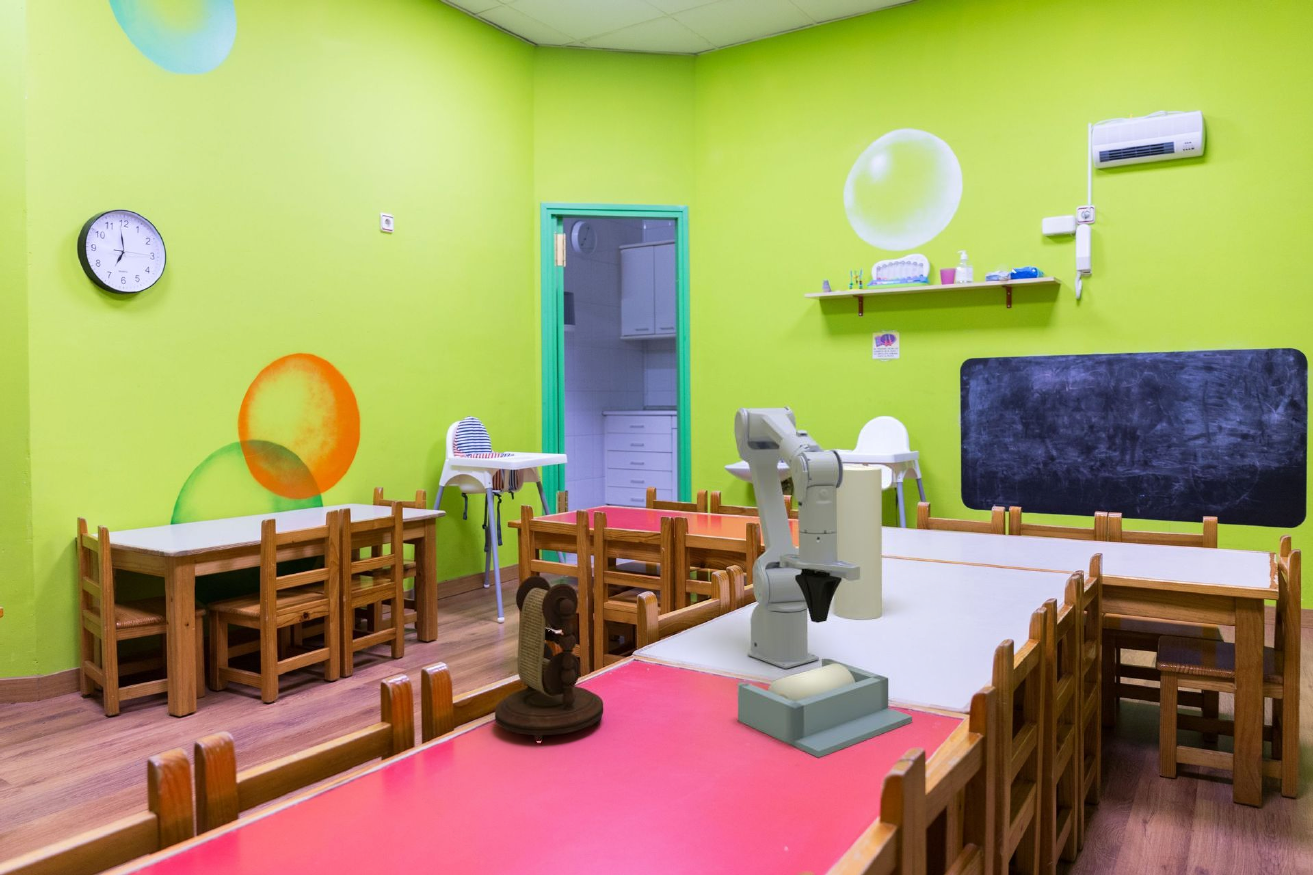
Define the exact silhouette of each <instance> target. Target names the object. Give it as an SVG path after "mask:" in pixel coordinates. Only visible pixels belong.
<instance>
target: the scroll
mask: <svg viewBox="0 0 1313 875" xmlns="http://www.w3.org/2000/svg"><path fill="white" fill-rule="evenodd" d="M515 602H516V606H517V608H518V610H519V612H520V613H521V614H520V619H519V620H520V621H519V627H518V629H519V630H518V640H517V641H518V643H517V645H518V646H517V647H518V648H517V674H518V677H519V680H520V681H521V682H522V683H523V684H525V685H526V687H525V688H523V689H520V690H518V691H515V692H512V693H511V694H509V695H508V696H507V697H505V698H503V699H502V700H500V701H499V702H498V703H497V704H496V705H495V707H494V720H495V722H496V723H497V725H498V726H499V727H501V728H502V729H504V730H506V731H510V732H512V733H516V734H521V735H529V736H533V737H534V741H535V740H536V741H541V740H542V741H543V738H544V736H551V735H552V736H553V735H561V734H565V733H571V732H576V731H579V730H582V729H585V728H588V727H589V726H591V725H593V724H595V725H596V726H599V725H600V724H601V722H602V718H603V714H604V702H603V699H602V698H601V697H600V696H599V695H598V694H596V693H594V692H592V691H590V690H589V689H586V688H584V687H580V686H576V684H577V682H578V681H579V676H580V673H581V664H580V661H579V659H578V656H576V655H575V654H574V653H573V652H574V649H575V647H576V644H577V641H576V636H574V635H573V630H574V627H573V623H572V621H571V620H572V619H573V618H574V617H575V615H576V612H577V610H578V606H579V598H578V594H577V591H576V590H575V588H574V587H573V586H571V585H570V584H567V583H556V584H555V585H553V586H551V585H550V583H549V582H548V580H547V579H546V578H544V577H543V576H540V575H532V576H529V577H527V578H525V579H524V580H523V581H522V582H521V583H520V585H519V586H518V588H517V591H516V595H515ZM548 630H550V631H549V632H548ZM555 631H561V633H557V632H555ZM547 642H550V643H551V642H552V643H555V644H556V645H558V646H559V647H560V649H561V652H558V653H557V654H554V652H553V649H552V647H550V645H549V644H548V643H547ZM536 741H535V742H536Z"/></svg>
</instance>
